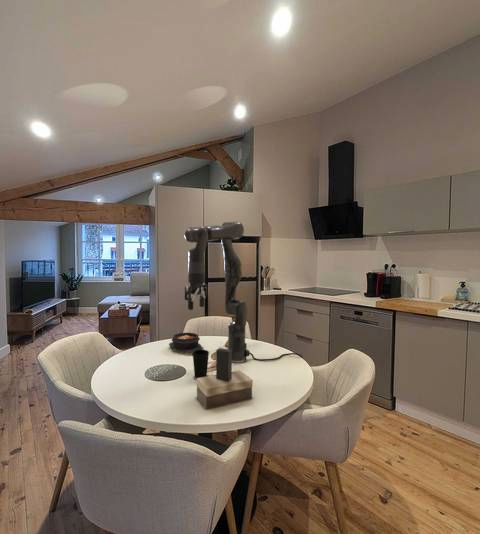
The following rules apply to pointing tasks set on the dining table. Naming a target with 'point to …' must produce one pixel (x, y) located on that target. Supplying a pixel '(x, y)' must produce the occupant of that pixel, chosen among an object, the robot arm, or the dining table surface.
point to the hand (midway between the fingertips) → (196, 308)
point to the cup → (200, 363)
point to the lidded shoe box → (224, 390)
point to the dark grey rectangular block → (224, 364)
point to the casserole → (185, 342)
